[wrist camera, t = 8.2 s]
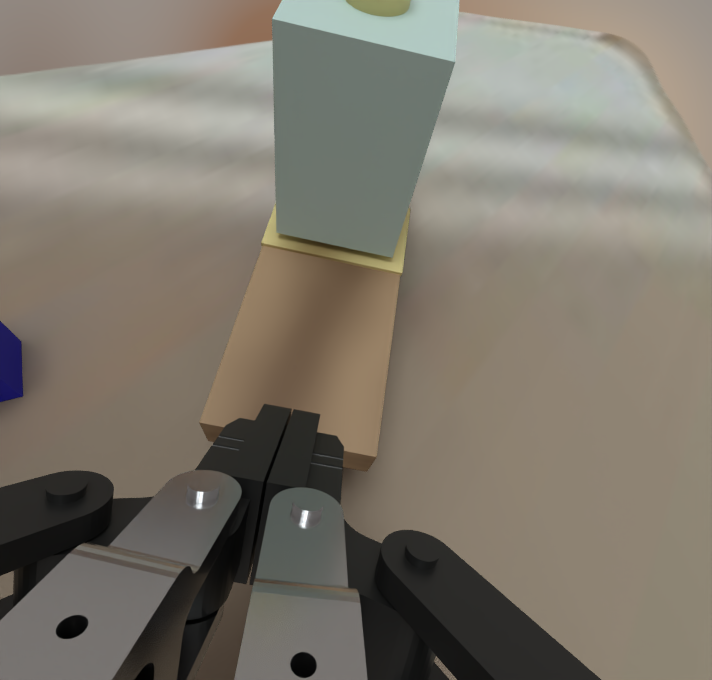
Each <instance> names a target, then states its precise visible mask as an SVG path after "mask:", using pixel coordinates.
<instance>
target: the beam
mask: <svg viewBox="0 0 712 680" xmlns="http://www.w3.org/2000/svg"><path fill="white" fill-rule="evenodd" d="M409 216H410V208H408V211H407V214H406V217H405V220H404V223H403V226H402V230H401V233H400V236H399V239H398V242H397V245H396V248H395V251H394V255H393V258H391V257H387V256H382V255H377V254H373V253H368V252H363V251H359V250H354V249H349V248H345V247H340V246H336V245H331V244H326V243H322V242H317V241H312V240H308V239H303V238H299V237H294V236H289V235H285V234H280V233H276V204H275V206H274V209H273V212H272V215H271V217H270V220H269V223H268V226H267V228H266V231H265V234H264V237H263V240H262V242H261V246H262V249H261V251H260V254H259V257H258V260H257V263H256V265H255V268H254V271H253V274H252V277H251V279H250V282H249V285H248V288H247V291H246V293H245V296H244V299H243V302H242V304H241V307H240V310H239V313H238V316H237V318H236V321H235V324H234V327H233V330H232V332H231V335H230V338H229V341H228V344H227V346H226V349H225V352H224V355H223V358H222V360H221V363H220V366H219V369H218V371H217V374H216V377H215V380H214V383H213V385H212V388H211V391H210V394H209V397H208V399H207V402H206V405H205V408H204V411H203V413H202V416H201V419H200V422H199V423H200V425H201V427H202V429H203V431H204V433H205V435H206V438H207V440H208V441H211V442H215V440H216V439H217V437H219V434H220V433H221V431H222V430H223V428H224V427H225V426H226V425H227V424H229V423H231V422H233V421H235V420H237V419H238V418H244V419H249V420H255V419H256V418H257V416H258V414H259V412H260V410H261V408H262V407H263V405H264V404H269V405H275V406H280V407H285V408H291V409H292V412H293V410H294V409H296V410H302V411H307V412H312V413H318V414H320V420H319V425H318V430H317V432H319V433H325V434H330V435H335V436H337V437H338V438H339V440H340V441H341V443H342V444H343V446H344V455H343V467H345V468H350V469H355V470H361V471H366V472H367V471H368V469H369V468H370V466H371V465H372V463H373V462H374V460H375V459H376V457H377V450H378V442H379V435H380V427H381V419H382V412H383V404H384V396H385V389H386V381H387V373H388V366H389V358H390V350H391V343H392V335H393V327H394V320H395V312H396V304H397V297H398V289H399V281H400V276H401V275H402V271H403V263H404V255H405V248H406V240H407V232H408V224H409ZM292 412H291V415H292Z"/></svg>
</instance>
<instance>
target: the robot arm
mask: <svg viewBox="0 0 712 680" xmlns="http://www.w3.org/2000/svg"><path fill="white" fill-rule="evenodd" d="M291 412H292V409H291V408H285V407H280V406H275V405H269V404H264V405H263V407H262V408H261V410H260V412H259V414H258V416H257V418H256V419H255V420H249V419H244V418H238V419H237V420H235V421H233V422H231V423H229V424H227V425H226V426H225V427H224V428H223V430H222V431H221V433H220V434H219V437H217V439H216V440H215V442H214V443H213V446H211V447H210V449H209V450H208V452H207V453H206V455H205V456H204V458H203V459H202V461H201V462H200V464H199V465H198V466H197V468H196V469H195V471H189V472H185V473H182V474H179V475H177V476H175V477H173V478H172V479H170V480H169V481H168V482H167V483H166V484H165V485H164V486H163V487H162V489H161V490H160V491H159V492H158V493H157V494H156V495H155V496H154V497H146V498H120V499H113V491H114V487H113V484H112V482H111V481H110V480H109V479H108V478H107V477H105V476H103V475H101V474H98V473H94V472H90V471H64V472H58V473H54V474H49V475H46V476H42V477H38V478H34V479H31V480H27V481H23V482H20V483H16V484H12V485H8V486H5V487H1V488H0V576H1V575H3V574H6V573H8V572H11V571H13V570H14V590H13V594H12V595H10V596H8V597H5V598H3V599H1V600H0V680H194V679H195V676H196V674H197V672H198V670H199V668H200V665H201V663H202V661H203V659H204V656H205V654H206V652H207V650H208V647H209V645H210V643H211V641H212V638H213V636H214V634H215V632H216V630H217V627H218V625H219V623H220V621H221V618H222V615H223V609H224V603H225V601H226V600H227V598H228V596H229V593H230V590H231V587H232V585H233V582H237V583H243V584H246V583H247V580H248V577H249V574H250V570H251V567H252V564H253V567H252V573H251V579H250V585H253V588H252V593H251V598H250V603H249V608H248V613H247V618H246V623H245V629H244V634H243V639H242V644H241V649H240V654H239V659H238V664H237V669H236V674H235V679H234V680H449V679H448V678H447V676H446V675H445V674H444V673H443V672H442V671H441V669H440V668H439V667H438V666H437V665H436V664H435V663H434V659H435V656H437V657H438V658H439V659H440V660H441V662H442V663H443V664H444V665H445V666H446V667H447V668H448V670H449V671H450V672H451V673H452V674H453V675H454V676H455V678H456V679H457V680H601V679H600V678H599V677H598V676H596V675H595V674H594V673H593V672H592V671H591V670H589V669H588V668H587V667H586V666H585V665H584V664H583V663H581V662H580V661H579V660H578V659H577V658H576V657H574V656H573V655H572V654H571V653H570V652H569V651H568V650H566V649H565V648H564V647H563V646H562V645H561V644H559V643H558V642H557V641H556V640H555V639H554V638H553V637H551V636H550V635H549V634H548V633H547V632H546V631H544V630H543V629H542V628H541V627H540V626H539V625H538V624H536V623H535V622H534V621H533V620H532V619H531V618H529V617H528V616H527V615H526V614H525V613H524V612H523V611H521V610H520V609H519V608H518V607H517V606H516V605H514V604H513V603H512V602H511V601H510V600H509V599H508V598H506V597H505V596H504V595H503V594H502V593H501V592H499V591H498V590H497V589H496V588H495V587H494V586H493V585H491V584H490V583H489V582H488V581H487V580H486V579H484V578H483V577H482V576H481V575H480V574H479V573H478V572H476V571H475V570H474V569H473V568H472V567H471V566H469V565H468V564H467V563H466V562H465V561H464V560H463V559H461V558H460V557H459V556H458V555H457V554H456V553H454V552H453V551H452V550H451V549H450V548H449V547H448V546H446V545H445V544H444V543H443V542H441V541H440V540H438V539H436V538H435V537H432V536H430V535H428V534H425V533H422V532H419V531H413V530H400V531H396V532H393V533H391V534H389V535H388V536H387V537H386V538H385V539H384V540H383V543H382V544H381V543H379V542H377V541H374V540H372V539H370V538H367V537H365V536H363V535H361V534H360V533H358V532H357V531H355V530H354V529H353V528H352V527H350V526H349V525H348V523H347V522H346V521H345V520H344V514H343V510H342V507H341V506H340V500H341V485H342V468H343V455H344V446H343V444H342V443H341V441H340V440H339V438H338V437H337V436H335V435H330V434H325V433H319V432H317V430H318V425H319V420H320V414H318V413H312V412H307V411H302V410H296V409H294V410H293V412H292V415H291Z"/></svg>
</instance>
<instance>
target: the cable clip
mask: <svg viewBox="0 0 712 680" xmlns="http://www.w3.org/2000/svg"><path fill="white" fill-rule="evenodd" d="M22 396H23V383H22V352H21V341H20V340H19V339H18V338H17V337H16V336H15V335H14V334H13V333H12V332H11V331H10V330H9V329H8V328H7V327H6V326H5V325H4V324H3V323H2V322H1V321H0V402H2V401H6V400H10V399H14V398H18V397H22Z"/></svg>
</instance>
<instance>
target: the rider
mask: <svg viewBox="0 0 712 680" xmlns="http://www.w3.org/2000/svg"><path fill="white" fill-rule="evenodd" d="M458 13H459V0H282V2H281V3H280V5H279V7H278V9H277V11H276V13H275V15H274V16H273V18H272V33H273V34H272V35H273V85H274V135H275V186H276V233H280V234H285V235H289V236H294V237H299V238H303V239H308V240H312V241H317V242H322V243H326V244H331V245H336V246H340V247H345V248H349V249H354V250H359V251H363V252H368V253H373V254H377V255H382V256H387V257H391V258H393V255H394V251H395V248H396V245H397V242H398V239H399V236H400V233H401V230H402V226H403V223H404V220H405V217H406V214H407V211H408V208H409V205H410V201H411V198H412V195H413V192H414V189H415V186H416V183H417V180H418V176H419V173H420V170H421V167H422V164H423V161H424V158H425V155H426V151H427V148H428V145H429V142H430V139H431V136H432V133H433V130H434V126H435V123H436V120H437V117H438V114H439V111H440V108H441V105H442V101H443V98H444V95H445V92H446V89H447V86H448V83H449V80H450V76H451V73H452V70H453V67H454V64H455V56H456V42H457V27H458Z"/></svg>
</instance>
